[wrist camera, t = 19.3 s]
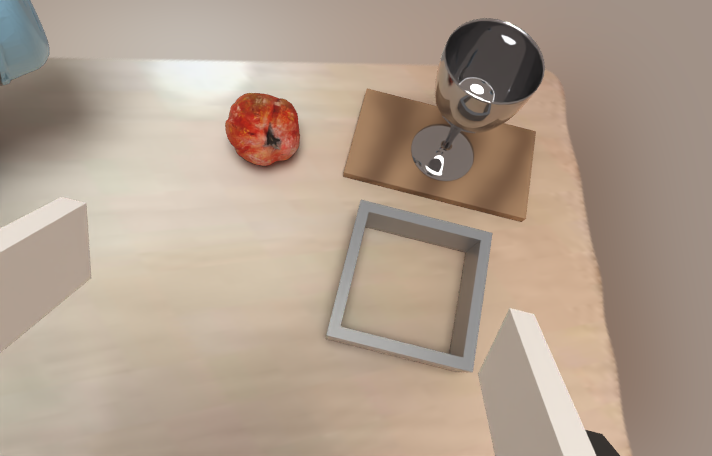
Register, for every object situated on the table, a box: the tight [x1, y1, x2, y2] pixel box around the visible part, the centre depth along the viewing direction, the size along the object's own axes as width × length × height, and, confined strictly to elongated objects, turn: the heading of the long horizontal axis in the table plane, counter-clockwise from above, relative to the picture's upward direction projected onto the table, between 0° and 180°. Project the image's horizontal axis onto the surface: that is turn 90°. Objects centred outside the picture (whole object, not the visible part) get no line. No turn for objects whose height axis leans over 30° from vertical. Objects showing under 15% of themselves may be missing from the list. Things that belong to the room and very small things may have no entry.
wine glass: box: [411, 18, 545, 181], centre depth 40 cm, size 8×8×15 cm
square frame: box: [326, 200, 492, 372], centre depth 41 cm, size 13×13×4 cm
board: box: [343, 89, 536, 222], centre depth 48 cm, size 20×11×1 cm, turn 76°
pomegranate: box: [225, 93, 300, 166], centre depth 44 cm, size 7×7×10 cm
